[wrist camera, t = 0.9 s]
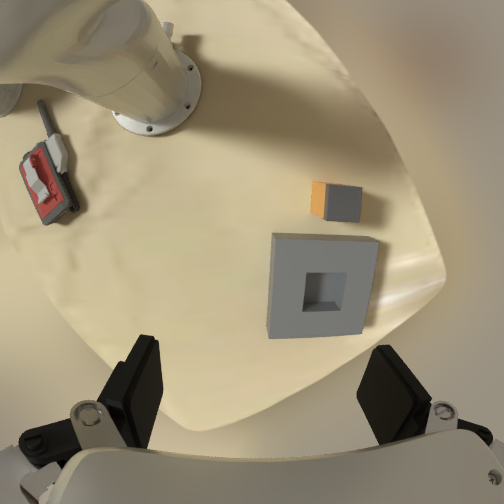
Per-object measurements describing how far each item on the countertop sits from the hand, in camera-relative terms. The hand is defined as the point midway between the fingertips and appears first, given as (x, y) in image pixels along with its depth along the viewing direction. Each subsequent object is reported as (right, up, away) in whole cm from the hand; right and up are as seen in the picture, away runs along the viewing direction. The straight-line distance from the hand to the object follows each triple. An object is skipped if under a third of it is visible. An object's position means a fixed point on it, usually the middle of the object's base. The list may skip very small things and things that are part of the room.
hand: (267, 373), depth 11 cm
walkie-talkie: (-32, +19, +22) cm, 43 cm away
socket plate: (+9, +1, +28) cm, 30 cm away
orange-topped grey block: (+9, +12, +25) cm, 29 cm away
